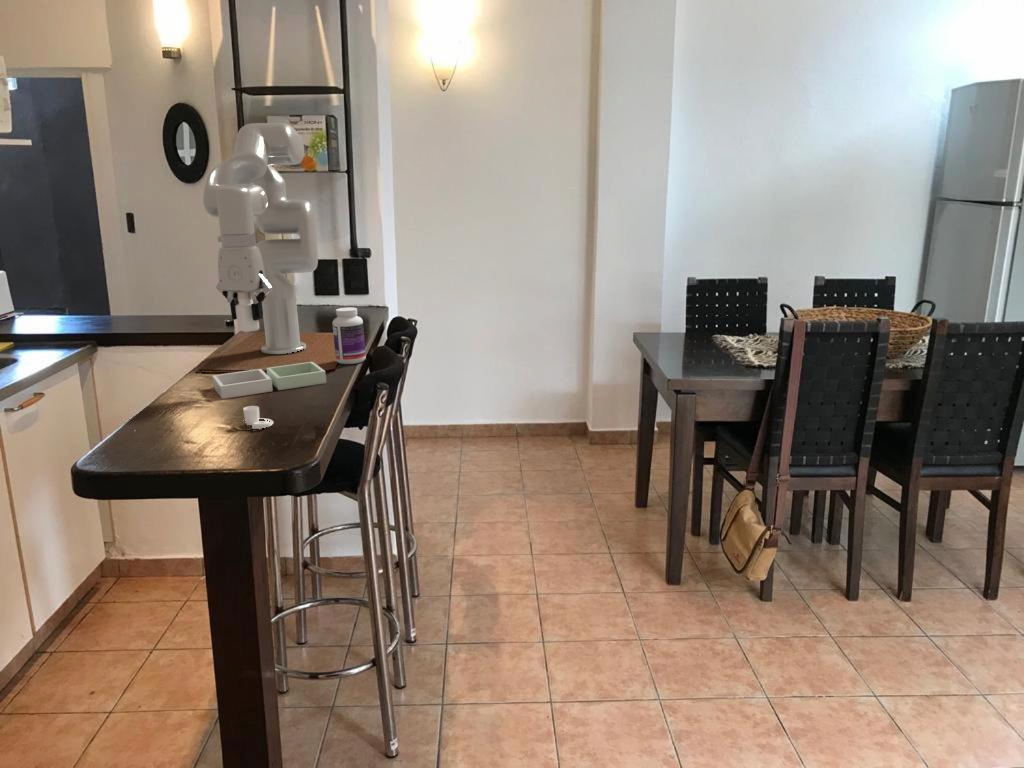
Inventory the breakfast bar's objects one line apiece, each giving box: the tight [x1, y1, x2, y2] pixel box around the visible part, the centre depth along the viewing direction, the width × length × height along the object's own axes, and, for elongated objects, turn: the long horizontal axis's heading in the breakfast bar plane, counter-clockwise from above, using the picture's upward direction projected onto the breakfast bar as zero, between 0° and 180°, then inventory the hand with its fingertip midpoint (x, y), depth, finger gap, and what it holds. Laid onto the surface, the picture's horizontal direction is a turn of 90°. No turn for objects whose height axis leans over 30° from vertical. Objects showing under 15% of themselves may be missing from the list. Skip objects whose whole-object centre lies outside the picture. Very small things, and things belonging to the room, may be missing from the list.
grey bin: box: [211, 368, 274, 400], centre depth 194 cm, size 12×12×3 cm
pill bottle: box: [332, 306, 367, 365], centre depth 217 cm, size 8×8×14 cm
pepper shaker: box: [235, 291, 260, 333], centre depth 191 cm, size 4×4×10 cm
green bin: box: [266, 361, 327, 391], centre depth 200 cm, size 12×12×3 cm
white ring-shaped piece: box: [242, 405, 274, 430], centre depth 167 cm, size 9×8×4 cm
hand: (247, 318), depth 192 cm, fingers closed on pepper shaker, 5 cm apart
